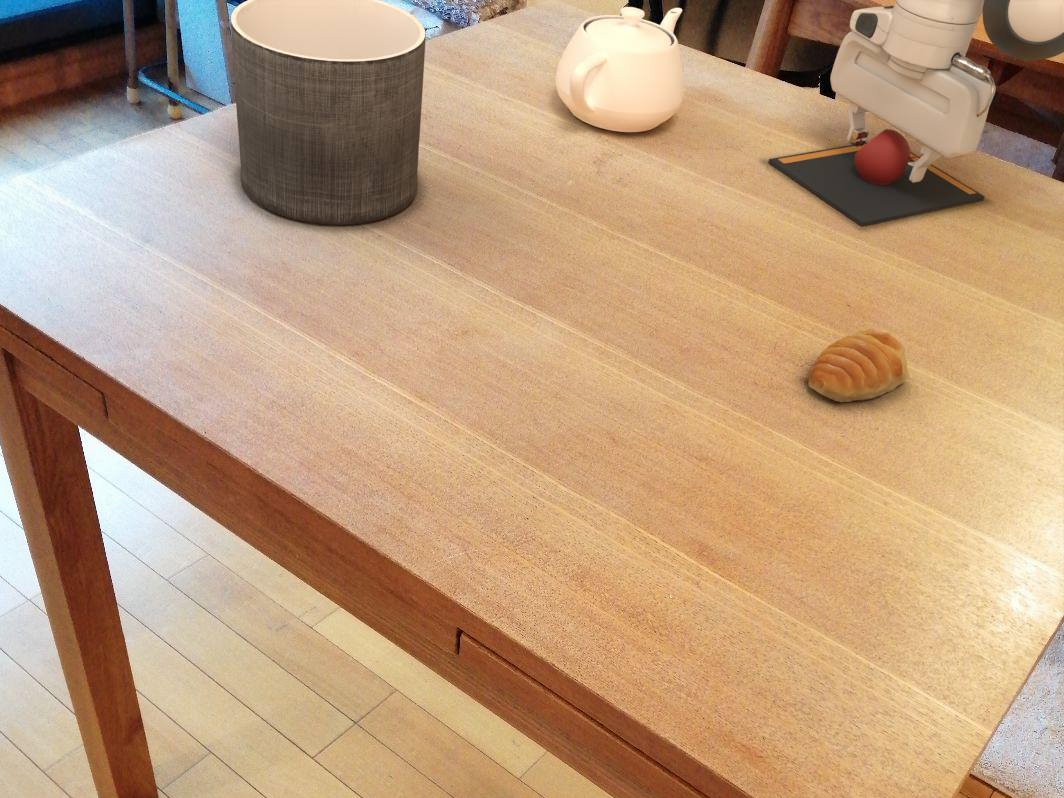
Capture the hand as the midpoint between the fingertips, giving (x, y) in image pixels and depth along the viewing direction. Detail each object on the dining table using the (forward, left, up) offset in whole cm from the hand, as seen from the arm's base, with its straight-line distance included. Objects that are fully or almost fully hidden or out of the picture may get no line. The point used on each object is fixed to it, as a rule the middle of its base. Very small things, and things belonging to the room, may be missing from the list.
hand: (882, 161), depth 126 cm
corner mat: (0, 0, -2) cm, 2 cm away
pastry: (+32, +30, -3) cm, 44 cm away
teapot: (+20, -25, -3) cm, 32 cm away
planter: (+61, -18, -3) cm, 64 cm away
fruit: (0, +1, -2) cm, 2 cm away
